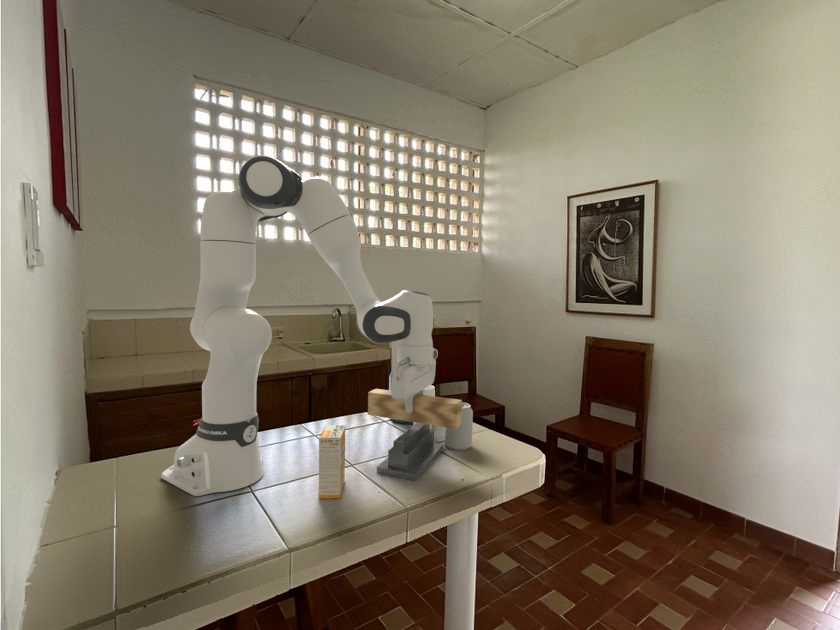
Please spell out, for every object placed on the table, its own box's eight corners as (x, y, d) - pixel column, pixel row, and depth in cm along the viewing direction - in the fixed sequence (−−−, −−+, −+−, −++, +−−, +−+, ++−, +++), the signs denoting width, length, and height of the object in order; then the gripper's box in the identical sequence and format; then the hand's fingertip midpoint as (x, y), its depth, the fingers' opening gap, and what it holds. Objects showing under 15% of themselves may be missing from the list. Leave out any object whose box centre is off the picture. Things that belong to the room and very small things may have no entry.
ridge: (376, 472, 98) (377, 440, 98) (409, 443, 117) (410, 415, 116) (415, 481, 94) (416, 447, 94) (443, 449, 113) (444, 421, 112)
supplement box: (341, 499, 86) (341, 437, 85) (317, 499, 86) (318, 437, 85) (345, 480, 94) (346, 424, 93) (324, 480, 94) (324, 424, 93)
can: (471, 442, 119) (472, 401, 118) (472, 452, 111) (473, 409, 111) (445, 440, 120) (446, 400, 119) (444, 451, 112) (445, 407, 111)
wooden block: (461, 423, 102) (461, 400, 102) (456, 428, 99) (457, 404, 98) (375, 410, 111) (375, 388, 111) (367, 414, 107) (368, 392, 107)
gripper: (410, 363, 93) (409, 423, 94) (440, 350, 112) (438, 400, 113) (384, 360, 95) (384, 419, 96) (418, 348, 114) (417, 397, 115)
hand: (413, 408), depth 105 cm, fingers closed on wooden block, 4 cm apart
